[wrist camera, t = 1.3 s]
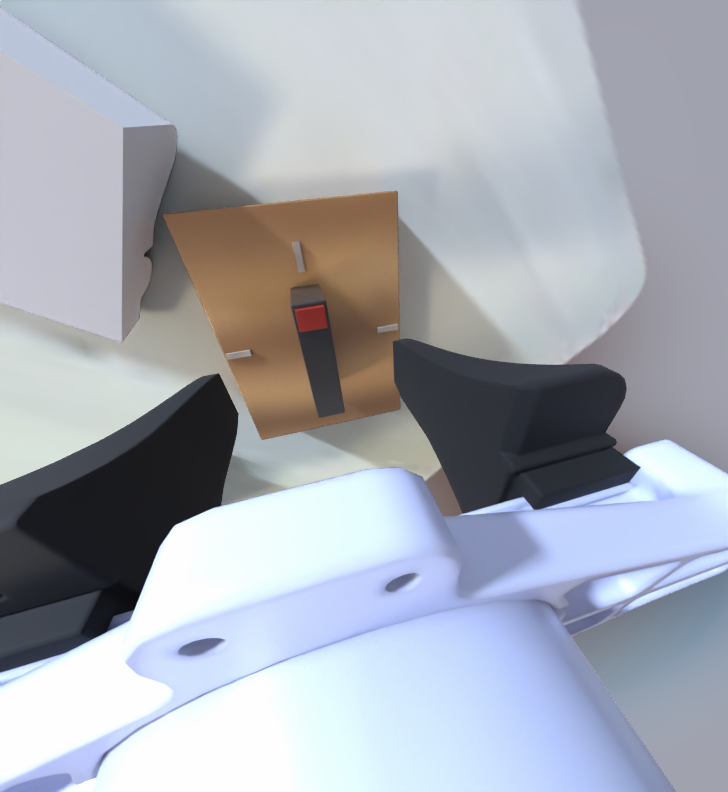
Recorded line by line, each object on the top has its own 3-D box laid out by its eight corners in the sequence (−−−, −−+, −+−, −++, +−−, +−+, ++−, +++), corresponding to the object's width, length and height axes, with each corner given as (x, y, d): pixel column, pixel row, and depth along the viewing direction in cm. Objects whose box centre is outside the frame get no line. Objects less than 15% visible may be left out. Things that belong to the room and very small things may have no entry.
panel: (389, 390, 23) (401, 410, 21) (264, 416, 22) (261, 442, 19) (381, 194, 15) (399, 189, 13) (183, 215, 14) (159, 214, 11)
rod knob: (336, 382, 18) (346, 415, 15) (313, 386, 18) (318, 421, 15) (319, 283, 14) (326, 300, 11) (290, 287, 14) (290, 306, 11)
